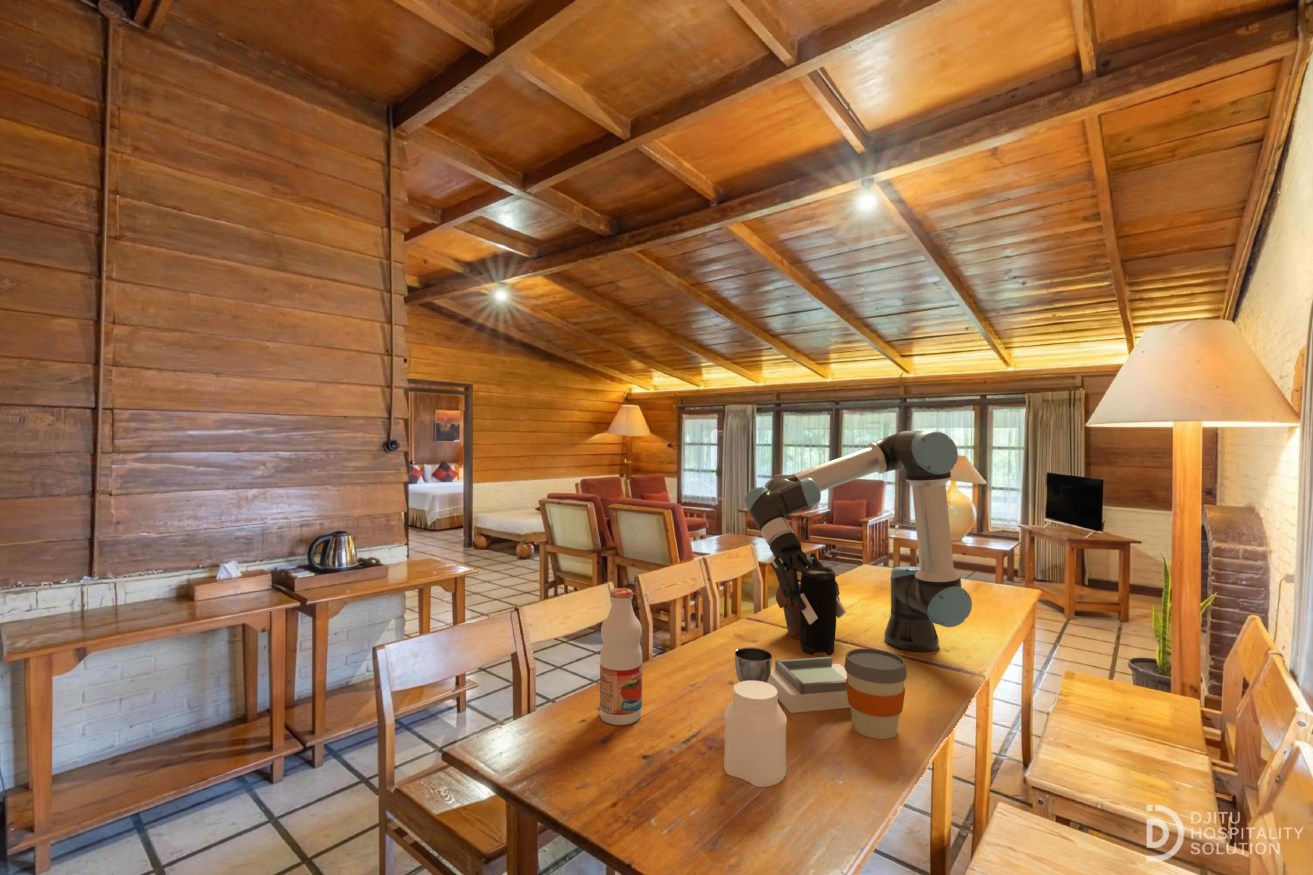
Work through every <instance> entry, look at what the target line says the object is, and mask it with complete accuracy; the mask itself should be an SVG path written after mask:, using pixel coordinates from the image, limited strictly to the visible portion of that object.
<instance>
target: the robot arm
mask: <svg viewBox="0 0 1313 875" xmlns="http://www.w3.org/2000/svg"><path fill="white" fill-rule="evenodd" d="M958 458H959V453H958V447H957V445H956V443H955V441H954V440H953V439H952V437H950V436H948V434H946V433H944V432H942V431H937V430H931V429H929V430H928V429H927V430H926V429H925V430H903V431H900V432H896V433H893V434H891V435H888V436H886V437H884V438H881V439H878V440H876V441H873V442H871V443H868V444H867V446H866V448H863V449H860V450H858V451H855V452H852V453H850V454H847V455H843V456H841V457H838V458H835V459H833V460H829V461H827V462H823V463H821V464H817V465H815V466H812V467H809V468H807V469H804V470H801V471H797V472H794V473H792V474H789V475H786V476H784V477H781V478H780V477H775V478H771V479H769V480H767V481H766V483H765V485H764V486H757V487H754V488H753V489H751V490H749V491H748V492H747V494H746V495H745V497H744V499H743V502H744V505H745V507H746V508H747V511H748V514H749V515H750V517H751V518H752V520H753V521H754V523H755V524H756V527H757V528H758V530H759V532H760V534H761V535H762V537H763V539H764V541H765V543H766V545H767V546H768V547H769V549H770V550H769V551H771V553H772V555H773V557H774V559H773V560H772V561H771V562H770V566H771V567H772V569H773V571H774V572H775V575H776V578H777V581H778V585H779V584H780V587H781V590H782V593H783V595H784V597H785V598H788V597H790V598H789V600H790V601H793V600H794V601H795V603H796V605H797V606H798V608H799V610H800V611H802V612H803V614H804V616H805V618H806V619H807V621H808V623H809V624H812V623H813V622H814V621H815V620H816V619H817V618H818V617H817V616H816V614H815V612H814V610H813V609H812V607H811V605H810V604H809V602H808V600H807V598H806V597H805V595H804V593H803V594H801V595H800V589H799V583H798V579H799V578H798V573H800V574H802V572H801V571H802V568H803V567H807V568H817V567H824V565H823V564H822V563H821V562H820V560H819V559H818V557H817V555H816V554H815V553H814V552H811V553H810V554H806V553H805V552H804V551H803V549H802V543H801V541H800V539H799V538H798V536H797V535H796V533H795V532H794V530H793V528H792V526H791V524H790V523H789V522H788V520H787V518H786V517H788V516H790V515H792V514H795V513H797V512H800V511H803V510H804V509H808V508H811V507H813V506H815V505H817V504H818V503H820V501H821V498H822V497H821V492H822V491H826V490H828V489H832V488H835V487H837V486H841V485H843V484H846V483H848V482H849V483H850V482H852V481H854V480H857V479H859V478H862V477H866V476H868V475H871V474H874V473H878V474H885V473H887V472H891V471H904V477H905V478H904V479H905V481H906V482H907V483H908V484H909V485H911V488H912V501H913V509H914V510H913V511H914V519H915V520H914V522H915V532H916V541H917V552H918V562H919V566H907V565H906V566H896V567H894V568H892V570H891V574H890V616H889V619H888V622H887V624H886V627H885V628H886V629H885V630H884V641H885V643H887V644H888V645H890V646H892V647H895V648H898V649H901V650H905V651H909V652H910V651H911V652H922V653H923V652H932V651H935V650H938V648H939V647H940V646H939V645H940V644H939V643H940V642H939V641H940V640H939V636H938V634H937V630H936V627H935V625H939V626H940V627H941V626H942V627H945V628H953V627H957V626H960V625H961V624H963V623H964V622H965V620H966V619H968V618H969V616H970V614H971V612H972V607H973V601H972V597H971V595H970V593H969V592H968V591H967V590H966V589H965V588H962V579H961V574H960V572H958V571H956V570H955V568H954V559H953V558H954V557H953V549H952V548H953V547H952V539H951V538H952V537H951V526H950V519H949V518H950V517H949V515H950V514H949V505H948V497H947V486H946V484H947V483H948V482H949V481H950V480H951V478H952V474H951V473H952V472H951V471H952V470H953V469H954V468H955V465H956V464H957V462H958ZM837 583H838V581H836V585H837ZM838 596H839V595H838ZM838 596H837V598H836V619H840V618H841V617H843V616H844V615H845V614H846V613H847V610H846V608H845V607H844V606H843V604H842V602H841V599H840V597H838Z"/></svg>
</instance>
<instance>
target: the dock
mask: <svg viewBox="0 0 1313 875" xmlns="http://www.w3.org/2000/svg"><path fill="white" fill-rule="evenodd" d="M774 662H775V663H774V665H775V666H774V668H771V673H770V678H769V680H768V682H767V683H769V684H771V685H773V686H774V687H775V688H776V689H777V691H778V700H779V702H780V704H782V705H783V706H784V707H785V708H786V709H787V710H788V711H789V713H790V714H794V713H795V714H796V713H806V712H816V711H828V710H836V709H837V710H839V709H848V708H850V709H851V706H850V705H849V703H848V697H847V689H846V679H847V672H846V670H845V668H844V666H843V665H842V664H840V663H833V658H832V656H821V657H805V658H795V659H794V658H793V659H791V658H790V659H779V660H775V661H774Z"/></svg>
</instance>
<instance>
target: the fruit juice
mask: <svg viewBox="0 0 1313 875" xmlns="http://www.w3.org/2000/svg"><path fill="white" fill-rule="evenodd" d="M633 595H634V593H633V590H632V589H630V588H625V587H620V588H619V587H617V588H613V589H611V590H610V599H611V605H610V609H609V612H608V615H607V617H606V618H605V619H604V621H603V622H602V624H601V628H600V637H601V639H602V640H601V641H602V647H601V648H600V652H599V653H600V654H599V655H600V656H599V716H600V718H601V720H602V721H603V722H605V723H606V724H609V725H612V726H627V725H632V724H634V723H636V722H638V721H639V720H640V719H641V716H642V714H643V650H642V647H641V643H640V641H641V638H642V634H643V630H642V628H643V627H642V624H641V622H640V620H639V619H638V618H637V616H636V614H635V612H634V608H633V604H632V599H633Z"/></svg>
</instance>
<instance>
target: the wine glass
mask: <svg viewBox="0 0 1313 875" xmlns="http://www.w3.org/2000/svg"><path fill="white" fill-rule="evenodd" d="M772 660H773V655H772V653H771V652H770V651H769V650H767V649H764V648H760V647H752V646H751V647H750V646H749V647H741V648H738V649H736V650H735V652H734V662H735V663H734V666H735V673H736V676H737V680H738V682H742V681H750V680H753V681H762V682H766V683H767V682H768V680H769V678H770V673H771V669H772V664H773V662H772Z"/></svg>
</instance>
